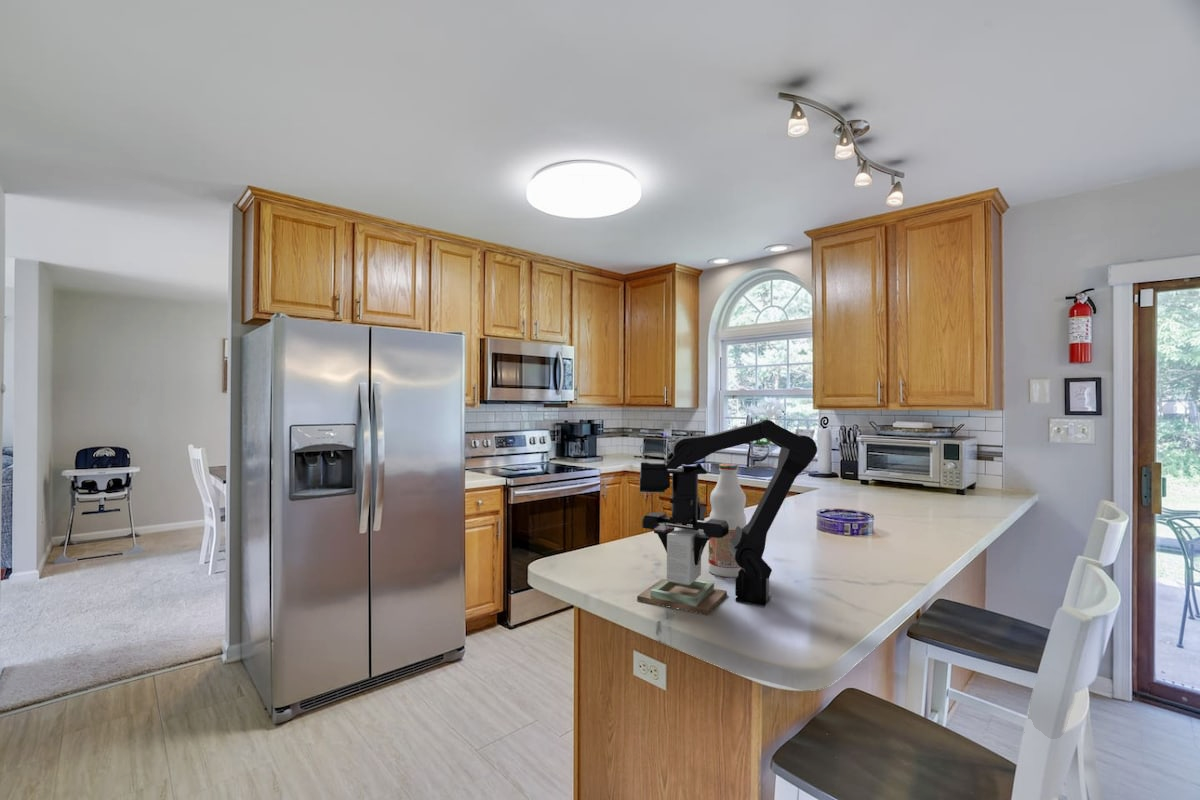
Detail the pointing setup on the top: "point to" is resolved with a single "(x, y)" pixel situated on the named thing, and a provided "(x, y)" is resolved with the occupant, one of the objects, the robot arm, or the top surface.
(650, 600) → the board
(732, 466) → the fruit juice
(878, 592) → the top surface
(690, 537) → the small box
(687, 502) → the robot arm
